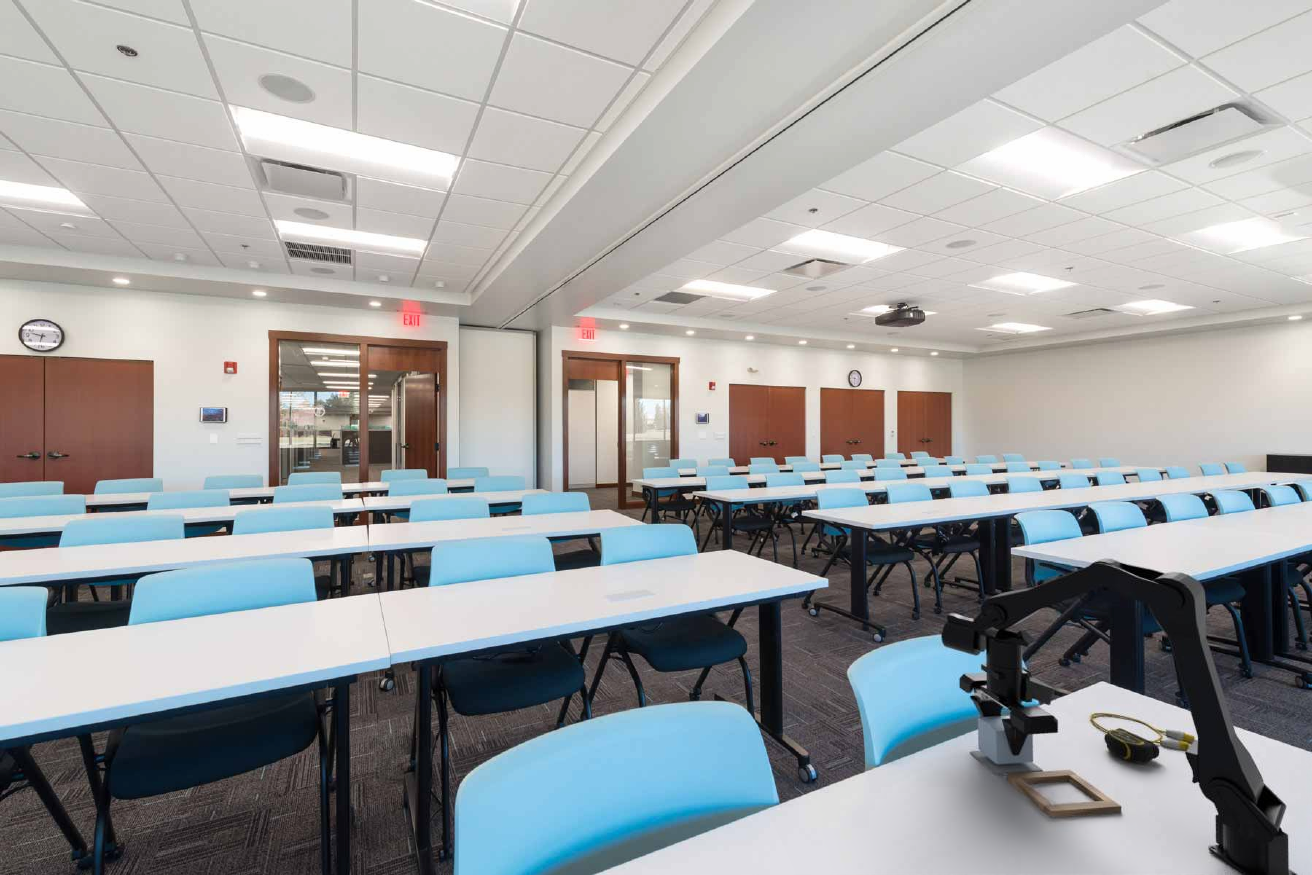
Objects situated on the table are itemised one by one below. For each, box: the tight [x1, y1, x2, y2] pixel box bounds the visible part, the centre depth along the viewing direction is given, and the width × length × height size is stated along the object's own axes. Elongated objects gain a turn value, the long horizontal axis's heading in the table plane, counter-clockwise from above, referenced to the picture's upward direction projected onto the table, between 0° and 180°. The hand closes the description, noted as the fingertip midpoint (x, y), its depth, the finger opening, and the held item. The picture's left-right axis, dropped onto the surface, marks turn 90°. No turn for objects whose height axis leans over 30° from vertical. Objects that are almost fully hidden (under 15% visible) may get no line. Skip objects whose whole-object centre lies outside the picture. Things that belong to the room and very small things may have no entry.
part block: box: [977, 715, 1034, 764], centre depth 104 cm, size 5×7×6 cm
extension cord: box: [1089, 712, 1195, 751], centre depth 114 cm, size 12×16×2 cm
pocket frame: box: [1006, 769, 1122, 818], centre depth 94 cm, size 10×12×1 cm
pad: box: [969, 750, 1044, 776], centre depth 104 cm, size 7×9×1 cm
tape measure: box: [1103, 727, 1160, 764], centre depth 106 cm, size 7×7×4 cm
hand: (1005, 747), depth 104 cm, fingers closed on part block, 5 cm apart
